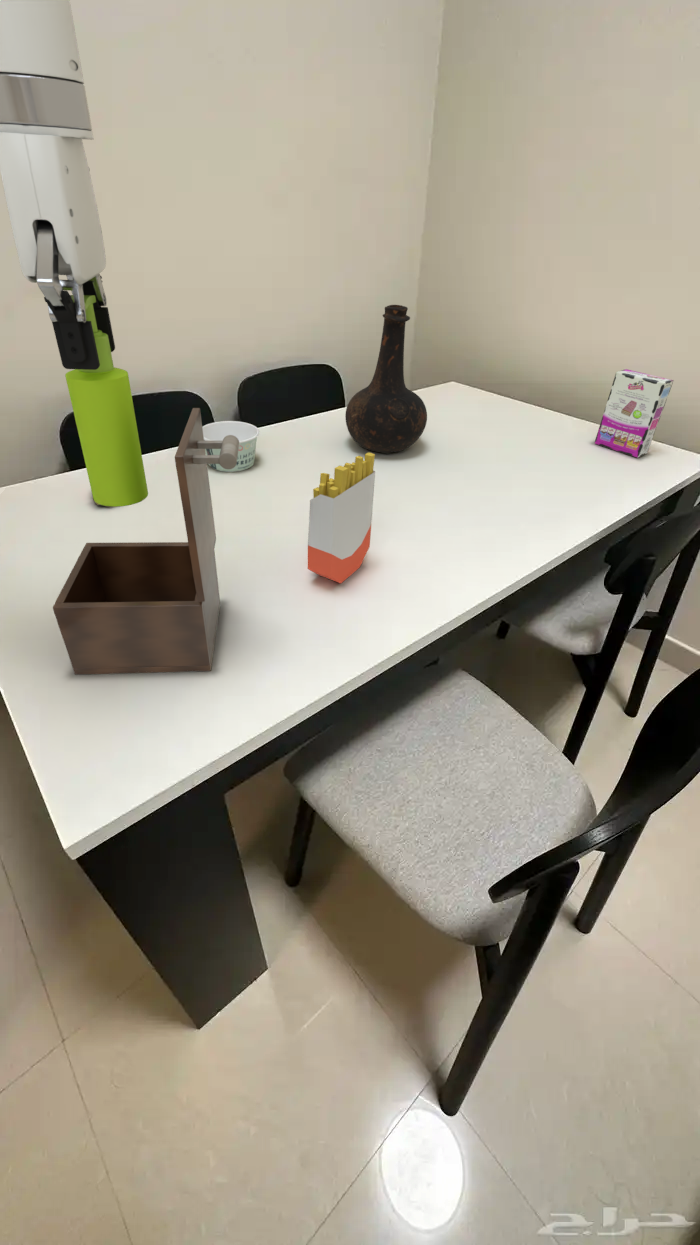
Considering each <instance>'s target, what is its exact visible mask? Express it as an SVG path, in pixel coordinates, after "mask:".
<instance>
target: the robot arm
mask: <svg viewBox="0 0 700 1245" xmlns="http://www.w3.org/2000/svg"><path fill="white" fill-rule="evenodd" d="M71 4H72V3H71V0H0V176H1V177H0V178H1V183H2V188H3V193H4V199H5V204H6V208H7V212H8V217H9V222H10V227H11V232H12V236H13V241H14V245H15V249H16V255H17V259H18V263H19V266H20V267H19V268H20V271H21V274H22V276H23V277H24V278H25V279H26V280H27V281H28V282H29V283H37V286H38V288H39V290H40V292H41V293H42V294H43V300H44V302H45V303H46V304H47V310H48V316H49V319H50V321H51V324H52V328H53V331H54V336H55V341H56V344H57V348H58V352H59V357H60V361H61V365H62V367H63V368H64V369H66V370H75V369H85V370H96V369H98V368H99V366H100V362H99V357H98V353H97V348H96V343H95V338H94V333H93V328H92V323H91V321H86V311H85V303H84V295H95V298H96V302H95V303H93V308H94V313H95V318H96V324H97V329H98V330H101V331H102V333H106V334H107V335H108V338H109V344H110V349H111V353H113V352H114V351H115V350H116V344H115V339H114V333H113V328H112V322H111V317H110V312H109V307H108V306H107V303H108V301H107V297H106V292H105V288H104V285H103V280H102V279H103V277H102V275H101V274H102V272H104V270H105V269H106V265H107V258H106V250H105V248H106V247H105V242H104V236H103V231H102V225H101V220H100V214H99V210H98V204H97V199H96V195H95V194H96V193H95V190H94V185H93V180H92V177H91V176H92V175H91V173H90V167H89V163H88V159H87V154H86V151H85V146H84V143H83V140H91V141H92V140H94V132H93V126H92V121H91V115H90V110H89V103H88V98H87V97H88V96H87V91H86V86H85V85H84V84H85V80H84V74H83V69H82V63H81V57H80V51H79V45H78V39H77V33H76V28H75V23H74V22H75V21H74V17H73V10H72V5H71ZM60 276H66V279H60ZM69 291H71V294H70V293H69ZM71 295H73V297H74V302H73V300H72V297H71Z"/></svg>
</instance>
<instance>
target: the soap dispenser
mask: <svg viewBox="0 0 700 1245" xmlns="http://www.w3.org/2000/svg"><path fill="white" fill-rule="evenodd" d="M70 295H71V297H72V300H73V302H74V297H73V295H72V294H70ZM95 302H96V298H95V295H84V303H85V311H86V321H91V323H92V328H93V333H94V338H95V343H96V348H97V353H98V357H99V362H100V366H99V368H98V369H96V370H85V369H71V370H69V371H67V372H66V373H65V375H64V376H65V381H66V386H67V390H68V394H69V399H70V402H71V407H72V411H73V416H74V420H75V425H76V429H77V433H78V437H79V442H80V446H81V447H80V448H81V450H82V455H83V459H84V464H85V468H86V474H87V478H88V481H89V485H90V486H89V487H90V490H91V495H92V499H93V501H94V503H95V502H96V503H98V504H101V505H100V506H105V507H115V508H116V507H119V508H120V507H128V506H132V505H136V504H138V503H140V502H143V501H144V500H146V499H147V498H148V497H149V496H148V495H149V491H148V484H147V479H146V472H145V467H144V461H143V460H144V459H143V454H142V448H141V443H140V437H139V431H138V425H137V419H136V413H135V407H134V406H135V405H134V402H133V394H132V390H131V383H130V377H129V372H128V371H127V370H126V369H123V368H120V367H115V366H114V361H113V356H112V352H111V349H110V344H109V338H108V335H107V334H106V333H102V331H101V330H98V329H97V324H96V318H95V313H94V308H93V303H95ZM96 503H95V504H96Z"/></svg>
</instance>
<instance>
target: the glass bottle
mask: <svg viewBox="0 0 700 1245" xmlns="http://www.w3.org/2000/svg"><path fill="white" fill-rule="evenodd" d="M408 309H409V308H408V307H407V306H405V305H401V304H389V305H386V306H385V307H384V313H383V314H382V318H383V326H382V335H381V339H380V347H379V352H378V357H377V361H376V365H375V370H374V373H373V376H372V379H371V380H370V382H369V385H368V386H366V387H364V388H362V389H361V390H359V391H357V392H356V393H355V394H354V395H353V396H351V398H350V399H349V401H348V403H347V405H346V408H345V425H346V428H347V431H348V433H349V436H351V438H352V439H353V441H354V442H355V443H356V444H357V445H358V446H360V447H361V448H363V449H365V450H368V451H369V452H376V453H383V454H384V453H385V454H386V453H388V454H391V453H398V452H402V451H404V450H406V449H408V448H409V447H411V446H412V445H413V444H415V443H417V441H418V440H419V439H420V438H421V437H422V434H423V433H424V431H425V428H426V425H427V422H428V412H427V407H426V405H425V403H424V401H423V399H422V398H421V396H419V395H418V394H417V393H416V392H414V391H413V390H411V389H408V388H407V386H406V383H405V374H404V373H405V372H404V370H405V369H404V368H405V366H404V364H405V363H404V359H405V357H404V356H405V355H404V354H405V337H406V335H405V334H406V322H409V320H410V319H411V317H410V316H409V315H407V312H408Z"/></svg>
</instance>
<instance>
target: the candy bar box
mask: <svg viewBox="0 0 700 1245" xmlns="http://www.w3.org/2000/svg"><path fill="white" fill-rule="evenodd" d="M674 382H675V380H674V379H670V378H665V377H662V376H658V375H653V374H649V373H646V372H645V373H644V372H640V371H636V370H632V369H627V368H626V369H621V370H618V371H616V372H615V374H614V378H613V381H612V385H611V387H610V392H609V395H608V399H607V401H606V404H605V407H604V411H603V414H602V417H601V420H600V423H599V427H598V430H597V433H596V437H595V440H594V445H598V446H600V447H603V448H606V449H609V450H612V451H615V452H618V453H621V454H624V455H627V456H630V457H633V458H637V459H638V458H640V457H643V456H645V455H647V454H648V452H649V449H650V447H651V444H652V440H653V438H654V436H655V433H656V430H657V427H658V425H659V423H660V419H661V416H662V414H663V411H664V409H665V406H666V403H667V400H668V398H669V395H670V392H671V389H672V386H673V384H674Z"/></svg>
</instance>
